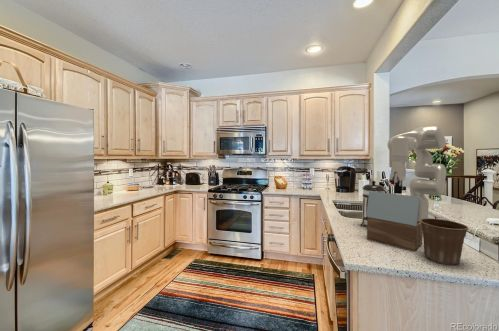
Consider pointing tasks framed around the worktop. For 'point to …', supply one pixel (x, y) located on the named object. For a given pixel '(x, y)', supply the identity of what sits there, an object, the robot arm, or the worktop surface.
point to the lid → (393, 207)
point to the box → (395, 233)
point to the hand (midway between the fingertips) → (398, 193)
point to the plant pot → (443, 240)
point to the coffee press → (366, 190)
